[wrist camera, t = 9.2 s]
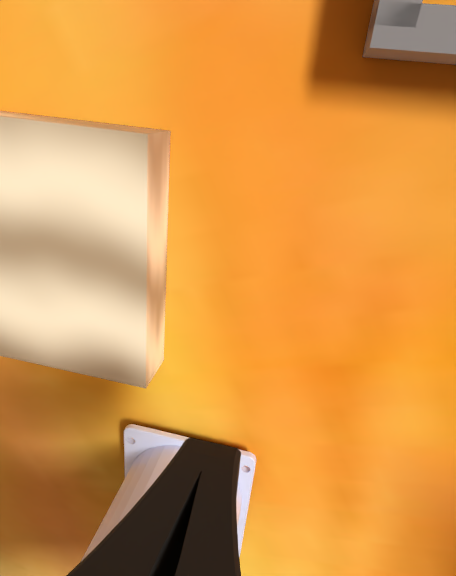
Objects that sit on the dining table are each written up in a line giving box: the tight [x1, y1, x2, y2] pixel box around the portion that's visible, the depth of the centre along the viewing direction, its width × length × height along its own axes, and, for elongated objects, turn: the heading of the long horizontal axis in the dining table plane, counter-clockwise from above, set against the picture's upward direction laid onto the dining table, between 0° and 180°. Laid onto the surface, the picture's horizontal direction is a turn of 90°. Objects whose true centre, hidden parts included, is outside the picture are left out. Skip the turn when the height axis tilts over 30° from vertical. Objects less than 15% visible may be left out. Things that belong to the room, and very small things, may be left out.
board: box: [0, 111, 170, 388], centre depth 20 cm, size 12×14×2 cm
